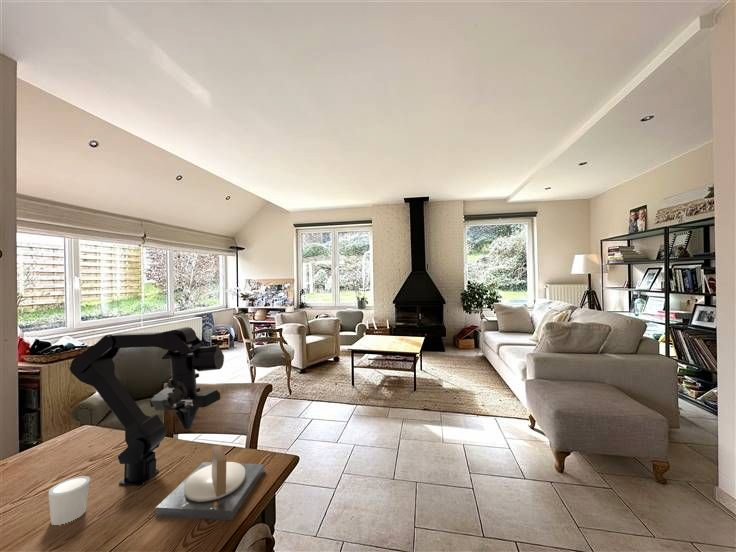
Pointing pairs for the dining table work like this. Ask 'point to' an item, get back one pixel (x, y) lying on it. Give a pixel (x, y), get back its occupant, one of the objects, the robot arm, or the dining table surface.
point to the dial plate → (212, 509)
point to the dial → (214, 478)
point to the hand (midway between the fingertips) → (187, 429)
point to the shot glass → (68, 500)
